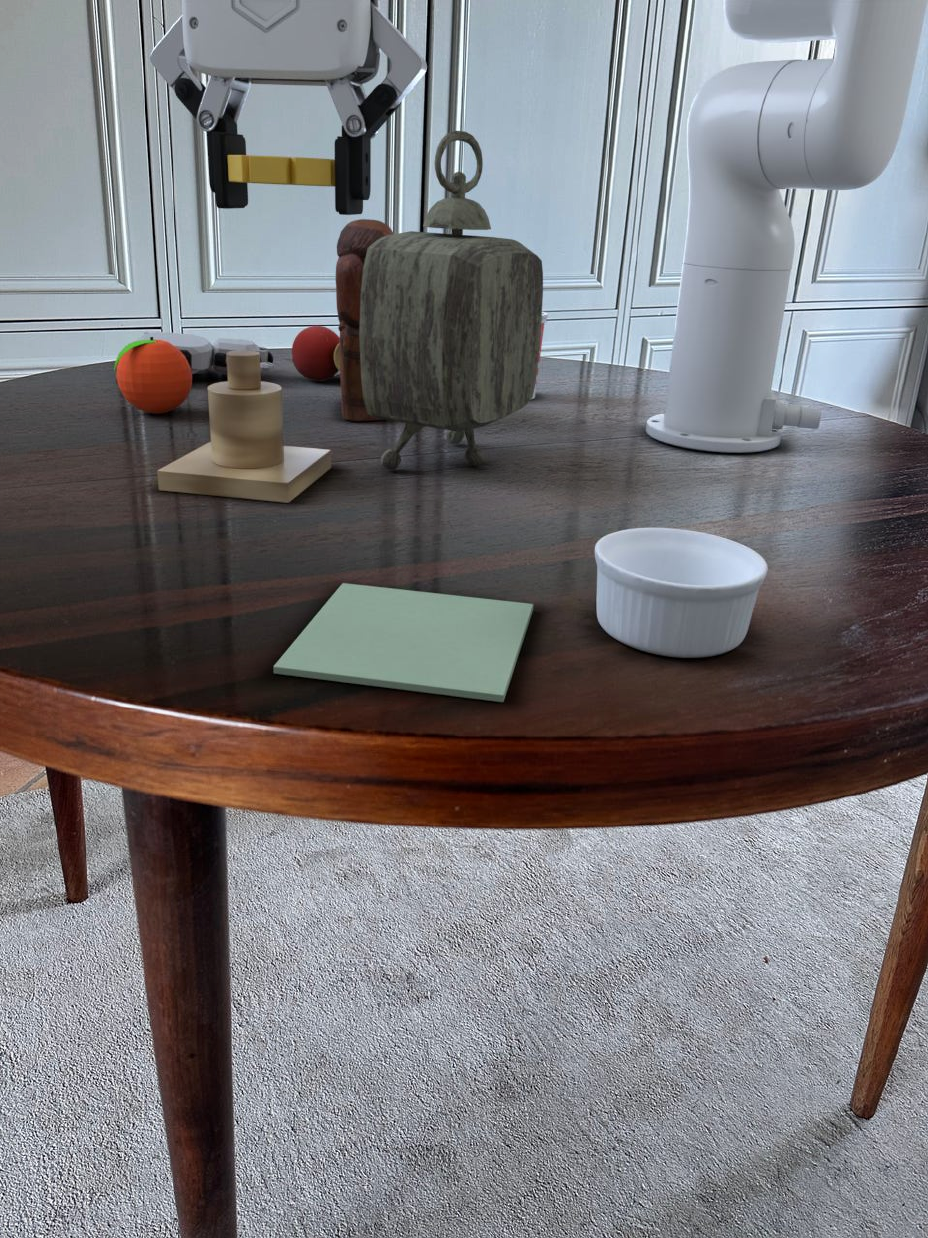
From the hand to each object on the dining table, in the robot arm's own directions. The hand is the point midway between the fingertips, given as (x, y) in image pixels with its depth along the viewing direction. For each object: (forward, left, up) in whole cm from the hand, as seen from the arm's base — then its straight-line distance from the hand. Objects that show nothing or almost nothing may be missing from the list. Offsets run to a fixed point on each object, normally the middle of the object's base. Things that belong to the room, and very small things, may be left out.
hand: (290, 208), depth 58 cm
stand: (+8, -10, -20) cm, 23 cm away
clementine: (+25, -28, -20) cm, 42 cm away
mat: (-11, +15, -20) cm, 27 cm away
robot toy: (+28, -47, -20) cm, 58 cm away
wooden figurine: (+6, -37, -20) cm, 43 cm away
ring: (0, 0, +1) cm, 1 cm away
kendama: (+10, -52, -20) cm, 57 cm away
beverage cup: (-7, -50, -20) cm, 54 cm away
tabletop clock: (-6, -20, -20) cm, 29 cm away
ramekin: (-24, +10, -20) cm, 33 cm away
